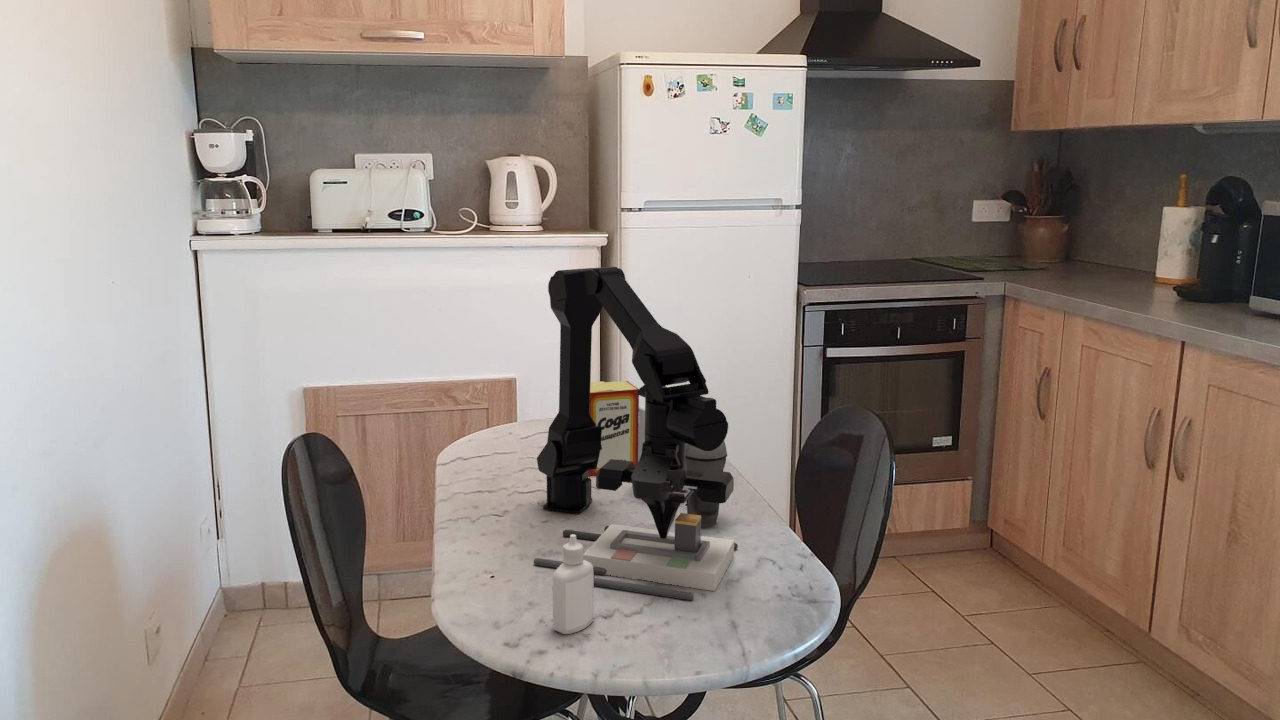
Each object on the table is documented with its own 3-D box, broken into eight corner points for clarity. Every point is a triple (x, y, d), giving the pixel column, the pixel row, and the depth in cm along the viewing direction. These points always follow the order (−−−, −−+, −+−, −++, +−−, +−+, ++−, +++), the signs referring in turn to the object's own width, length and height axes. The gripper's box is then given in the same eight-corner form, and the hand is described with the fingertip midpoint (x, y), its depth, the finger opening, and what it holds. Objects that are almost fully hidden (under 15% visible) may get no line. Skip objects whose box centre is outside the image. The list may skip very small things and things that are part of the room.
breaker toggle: (674, 553, 137) (675, 520, 136) (680, 545, 140) (680, 512, 139) (695, 556, 136) (695, 523, 135) (700, 547, 139) (701, 515, 138)
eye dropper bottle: (600, 629, 121) (600, 539, 118) (556, 637, 119) (555, 545, 116) (589, 614, 125) (589, 526, 122) (547, 621, 123) (546, 531, 120)
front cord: (522, 575, 136) (522, 569, 135) (535, 562, 140) (535, 556, 140) (692, 601, 128) (693, 594, 128) (701, 587, 133) (701, 580, 132)
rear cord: (561, 536, 149) (561, 530, 149) (572, 526, 153) (572, 520, 153) (731, 560, 141) (731, 553, 141) (738, 548, 146) (738, 542, 145)
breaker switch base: (583, 571, 137) (582, 550, 137) (611, 539, 148) (611, 519, 148) (714, 591, 132) (715, 569, 131) (733, 556, 143) (734, 535, 142)
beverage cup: (722, 533, 151) (726, 408, 147) (676, 529, 152) (678, 405, 148) (727, 516, 158) (731, 396, 154) (683, 512, 159) (685, 394, 155)
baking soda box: (626, 460, 185) (627, 378, 182) (638, 471, 179) (638, 387, 176) (578, 465, 182) (578, 382, 179) (588, 476, 176) (588, 391, 173)
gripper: (581, 441, 131) (581, 550, 134) (717, 456, 125) (714, 569, 129) (609, 420, 141) (609, 521, 144) (736, 432, 136) (732, 538, 139)
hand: (663, 537), depth 139 cm, fingers closed
